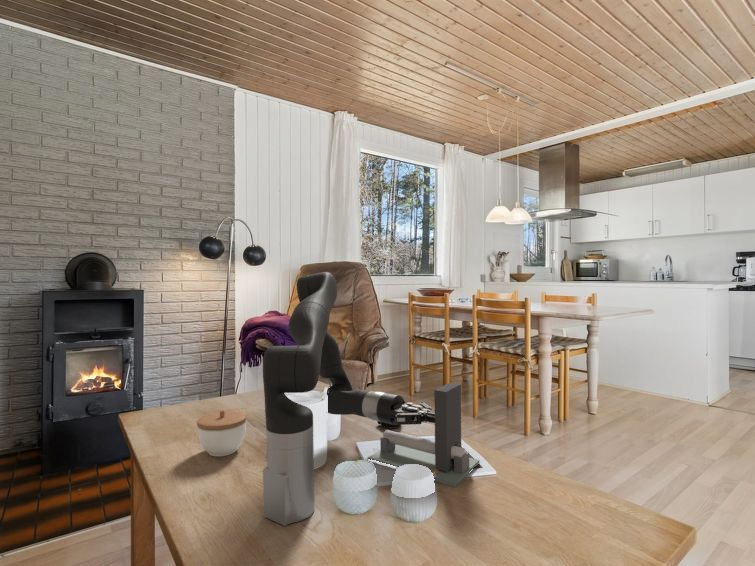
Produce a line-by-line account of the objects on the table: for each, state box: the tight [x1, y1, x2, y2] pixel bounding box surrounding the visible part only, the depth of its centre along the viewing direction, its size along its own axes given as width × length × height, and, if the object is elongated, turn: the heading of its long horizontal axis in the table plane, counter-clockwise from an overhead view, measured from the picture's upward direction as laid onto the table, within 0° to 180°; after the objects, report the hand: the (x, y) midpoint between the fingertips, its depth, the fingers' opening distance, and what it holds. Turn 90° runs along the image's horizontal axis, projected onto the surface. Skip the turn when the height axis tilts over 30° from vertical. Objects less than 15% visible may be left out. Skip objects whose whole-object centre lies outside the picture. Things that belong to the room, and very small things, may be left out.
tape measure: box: [376, 421, 401, 429], centre depth 135 cm, size 7×7×4 cm
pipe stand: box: [367, 429, 480, 488], centre depth 109 cm, size 14×24×6 cm, turn 55°
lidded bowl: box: [196, 409, 248, 458], centre depth 118 cm, size 13×13×11 cm
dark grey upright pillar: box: [434, 382, 462, 472], centre depth 105 cm, size 8×3×19 cm, turn 145°
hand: (442, 419), depth 105 cm, fingers closed
